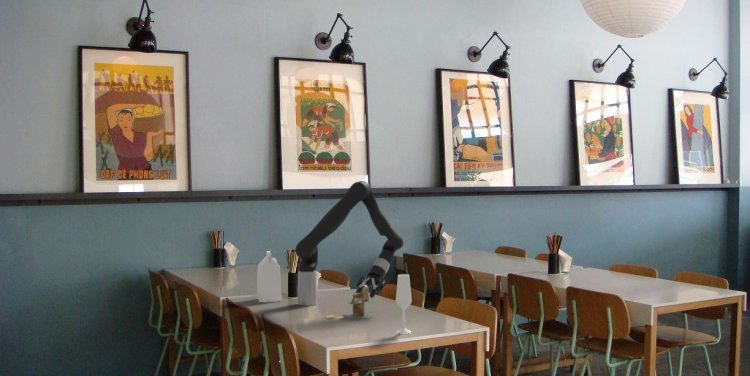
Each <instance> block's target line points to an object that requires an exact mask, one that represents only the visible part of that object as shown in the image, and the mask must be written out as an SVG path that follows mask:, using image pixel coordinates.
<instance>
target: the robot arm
mask: <svg viewBox="0 0 750 376" xmlns="http://www.w3.org/2000/svg"><path fill="white" fill-rule="evenodd" d="M360 202H362V203H363V205H364V206H365V208H366V209H367V211H368V214H369V217H370V220H371V221H372V224H373V225H374V228H375V229H376V230H377V232H378V233H379V235H380V236H381V237H385V238H386V239H387V240H385V242H384V244H383V246H382V249H381V251H380V253H379V255H378V256H377V259H376V260H375V261H374V263H373V265H372V266H371V268H370V270H369V271H368V272H367V273H368V274H367V275H368V276H367V277H364V276H363V275H362V276H361V277H360V279H359V280H358V282H357V283H356V285H355V286H356V287H357V289H358V290H357V289H356V291H355V292H356V293H361V292H362V290H363V289H365V288H368V287H369V288H373V289H372V290H371V292H370V294H369V297H370V299H373V298H374V297H375V296H376V294H377V293H378V292H382V290H383V289H384V287H385V285H386V280H385V279H384V278H385V276H386V274H387V272H388V271H389V268H390V266H391V265H392V262H393V260H394V257H395V253H396V252H397V251H399V250H400V249H402V248H403V246H404V239H403V238H402V236H401V234H399V232H397V230H396V229H395V228H393V227H392V225H391V223H390V222H389V220H388V219H387V217H386V215H385V214H384V212H383V211H382V209H381V207H380V206H379V203H378V201H377V199H376V198H375V195H374V192H373V190H372V187H371V186H370V184H369V183H368V182H366V181H365V180H360V181H359V180H358V181H356V182H354V183H352V185H351V186H349V188H348V190H347V191H346V193H345V194H344V195H343V196H342V198H341V199H340V200H339V201H337V203H336V204H334V205H333V206H332V207H331V208H330V209H329V210H328V211H327V212H326V214H324V216H323V217H322V218H321V219H320V220H319V221H318V222H317V224H316V225H315V226H314V227H313V229H312V230H311V231H309V233H308V234H307V235H305V236H304V237H303V238H302V239H301V240H299V242H298V243H297V244H296V246H295V254H296V256H297V257H299V258H300V262H299V265H298V267H297V268H298V269H297V271H298V272H297V273H298V275H297V276H298V278H297V279H298V280H297V281H298V282H297V289H296V290H297V306H305V307H306V306H309V307H310V306H315V305H317V302H318V300H317V267H318V264H319V263H318V262H319V261H318V260H319V254H318V253H319V248H318V245H319V244H320V243H321V242H322V241H324V240H325V239H326V238H327V237H329V236H330V235H332V234H333V233H335V231H336V230H337V229H339V227H340V226H342V224H343V223H344V221H346V219H347V217H348V215H349V213H350V212H351V211H352V209H354V207H356V206H357V204H359V203H360ZM365 283H366V285H365ZM362 286H364V287H362Z"/></svg>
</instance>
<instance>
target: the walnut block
mask: <svg viewBox="0 0 750 376" xmlns="http://www.w3.org/2000/svg"><path fill="white" fill-rule="evenodd" d="M352 299H353V302H352V313H353V316H364V314H365V313H366V311H365V309H366V307H365V306H366V305H365V303H366V301H365V293H355V292H353V294H352Z"/></svg>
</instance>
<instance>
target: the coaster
mask: <svg viewBox="0 0 750 376" xmlns="http://www.w3.org/2000/svg"><path fill="white" fill-rule="evenodd" d="M323 319H327V320H340V319H344V316H343V315H337V314H335V315H333V314H332V315H331V314H330V315H326V316H323Z"/></svg>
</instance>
